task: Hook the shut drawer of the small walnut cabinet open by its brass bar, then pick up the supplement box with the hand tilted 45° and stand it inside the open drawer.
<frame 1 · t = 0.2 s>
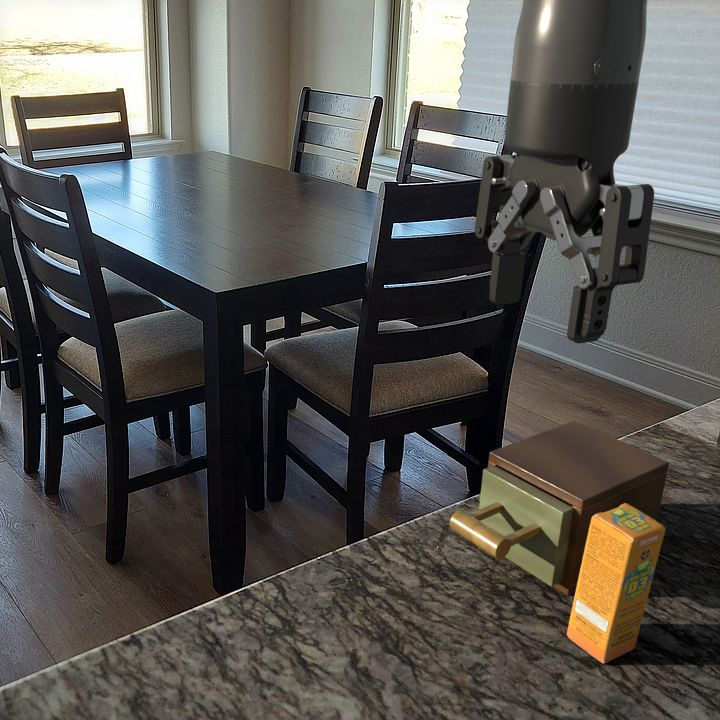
hand: (541, 320, 59), 20 cm above the countertop, tool pointing down, fingers open, 8 cm apart
drawer: (535, 518, 65), point 4 cm above the countertop, slide at 0.0 cm
supplement box: (601, 647, 58), on the countertop
cabinet: (564, 545, 68), on the countertop
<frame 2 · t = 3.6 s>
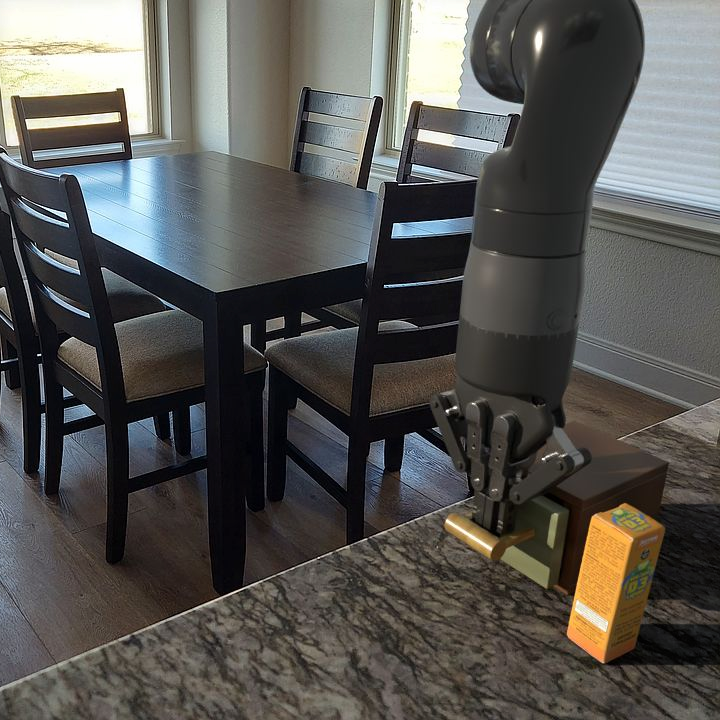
hand: (491, 535, 62), 4 cm above the countertop, tool pointing down, fingers closed
drawer: (530, 520, 64), point 4 cm above the countertop, slide at 0.5 cm, touching gripper
everything else where it was.
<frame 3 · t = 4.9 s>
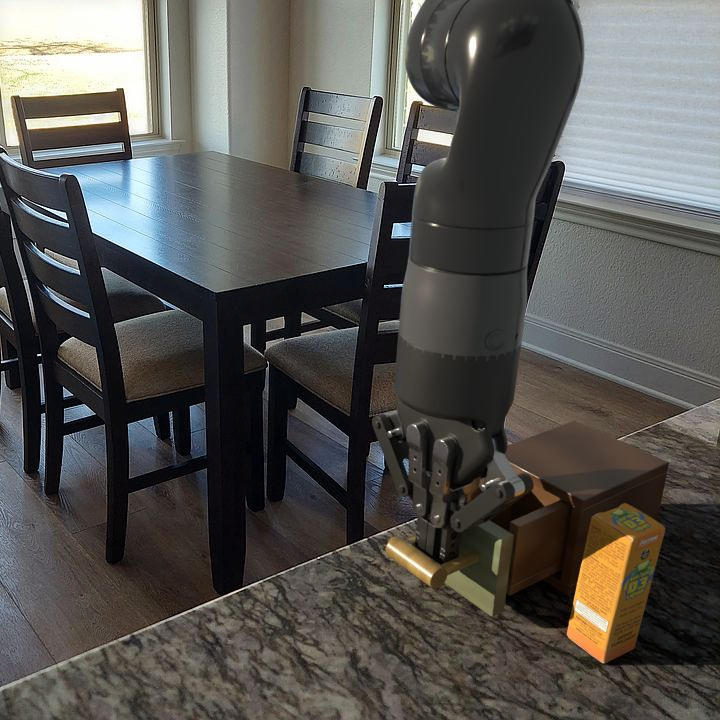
hand: (434, 562, 60), 4 cm above the countertop, tool pointing down, fingers closed
drawer: (477, 543, 62), point 4 cm above the countertop, slide at 6.2 cm, touching gripper
everything else where it was.
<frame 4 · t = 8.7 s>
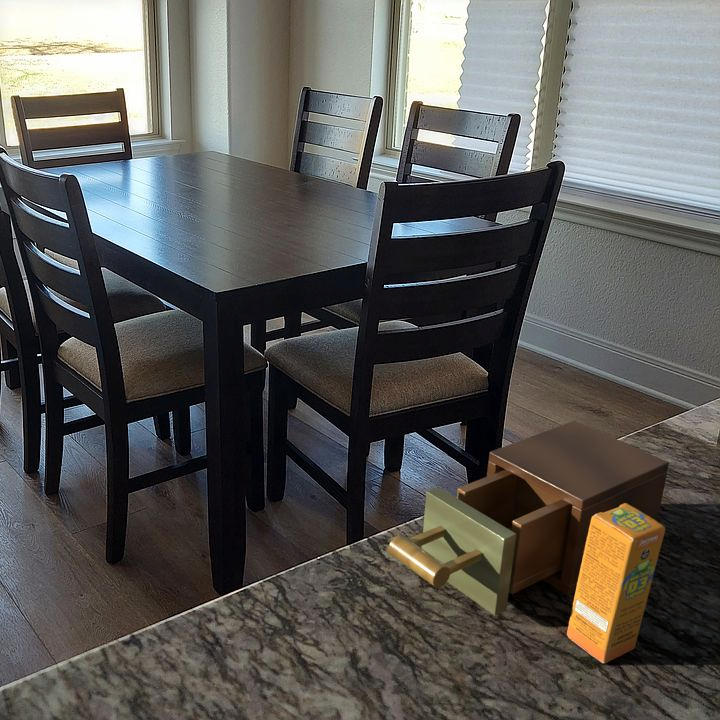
drawer: (480, 542, 62), point 4 cm above the countertop, slide at 5.9 cm
everything else where it was.
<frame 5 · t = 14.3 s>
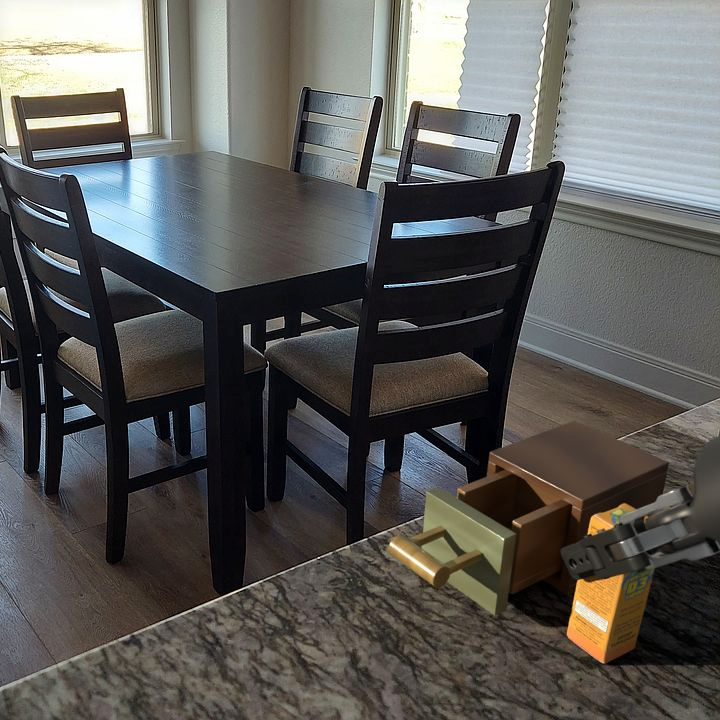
hand: (591, 555, 57), 6 cm above the countertop, tool tilted 45°, fingers closed on supplement box, 3 cm apart
supplement box: (601, 647, 58), on the countertop, touching gripper
everything else where it was.
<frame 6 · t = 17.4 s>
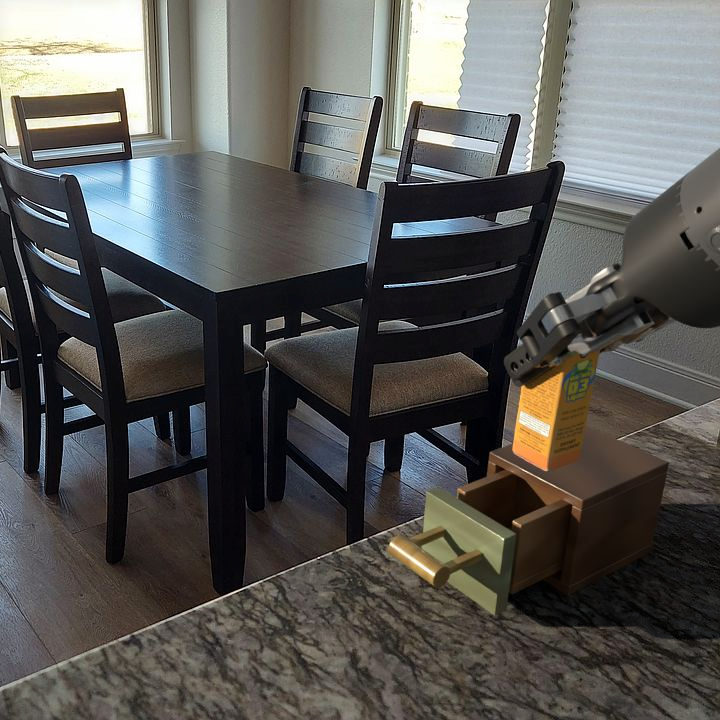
hand: (534, 367, 57), 18 cm above the countertop, tool tilted 45°, fingers closed on supplement box, 3 cm apart
supplement box: (547, 460, 58), point 11 cm above the countertop, touching gripper
everything else where it was.
when the fingers open (8 cm above the countertop, at t = 20.7 s): supplement box stays where it is, resting on drawer.
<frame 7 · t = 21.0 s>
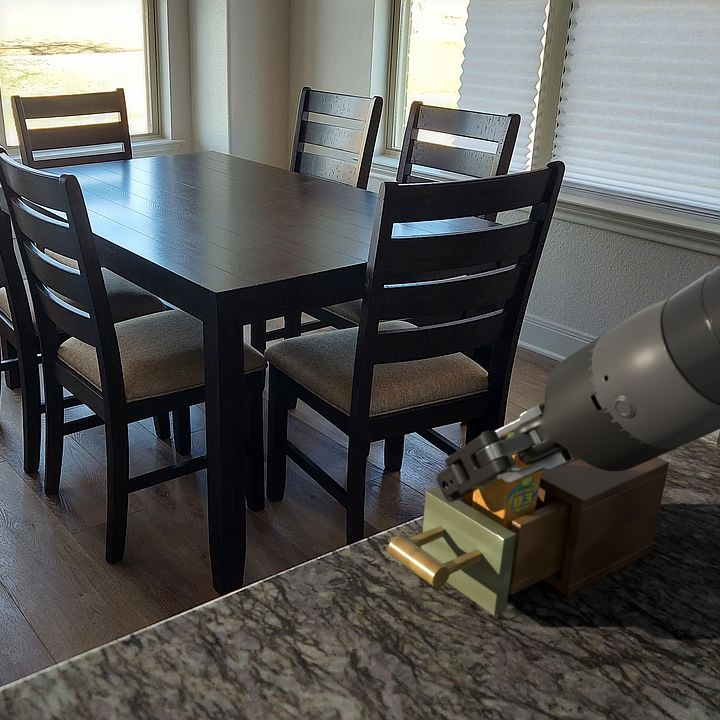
hand: (477, 477, 62), 8 cm above the countertop, tool tilted 45°, fingers open, 5 cm apart
drawer: (479, 542, 62), point 4 cm above the countertop, slide at 6.0 cm, touching supplement box
supplement box: (496, 561, 63), point 2 cm above the countertop, touching drawer
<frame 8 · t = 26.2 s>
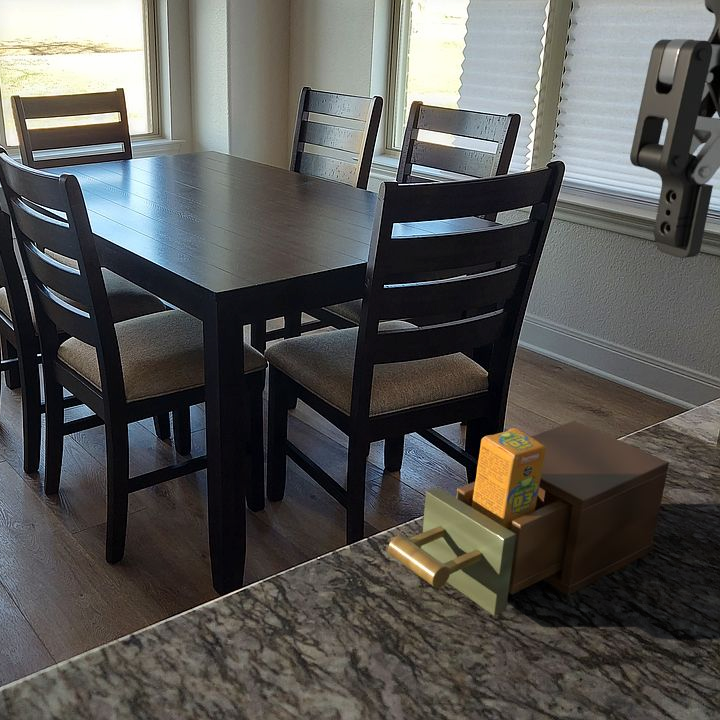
nothing on the countertop moved.
at the end: drawer slide at 6.0 cm; supplement box 0.2 cm from the target spot in the drawer, point 1.8 cm above the cabinet's base; the gripper is holding nothing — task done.
